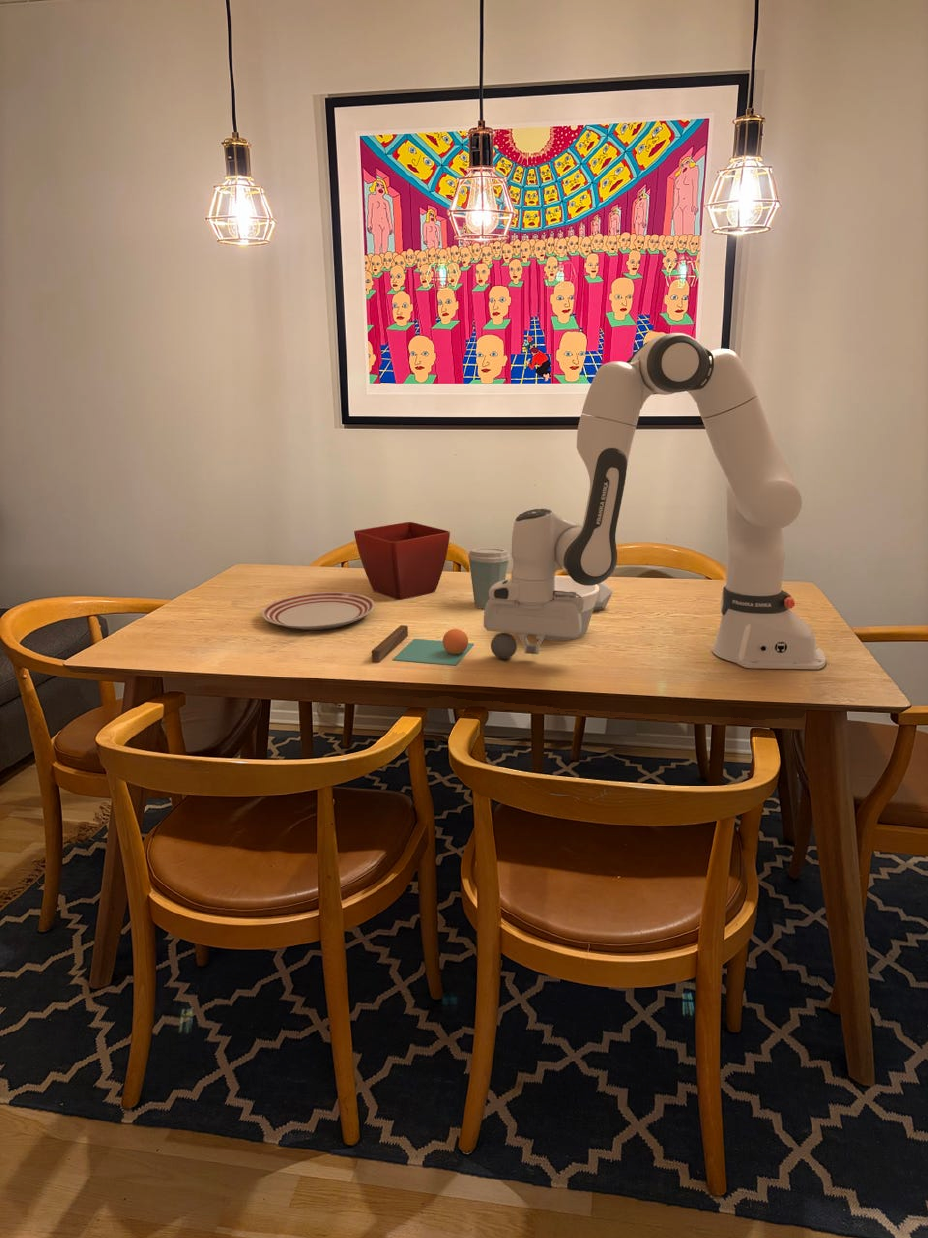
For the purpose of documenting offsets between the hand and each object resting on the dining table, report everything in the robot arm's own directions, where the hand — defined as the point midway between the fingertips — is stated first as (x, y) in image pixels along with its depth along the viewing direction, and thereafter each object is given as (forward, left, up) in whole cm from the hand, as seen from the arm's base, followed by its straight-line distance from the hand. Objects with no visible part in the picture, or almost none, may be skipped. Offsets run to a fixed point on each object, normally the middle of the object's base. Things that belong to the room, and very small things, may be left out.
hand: (531, 653), depth 176 cm
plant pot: (+44, -45, -2) cm, 63 cm away
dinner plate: (+56, -17, -2) cm, 59 cm away
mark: (+21, 0, -2) cm, 22 cm away
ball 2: (+6, 0, +1) cm, 6 cm away
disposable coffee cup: (+18, -37, -2) cm, 41 cm away
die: (-8, -41, -2) cm, 42 cm away
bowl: (-2, -21, -2) cm, 21 cm away
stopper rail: (+31, 0, -2) cm, 32 cm away
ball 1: (+17, 0, +1) cm, 17 cm away
